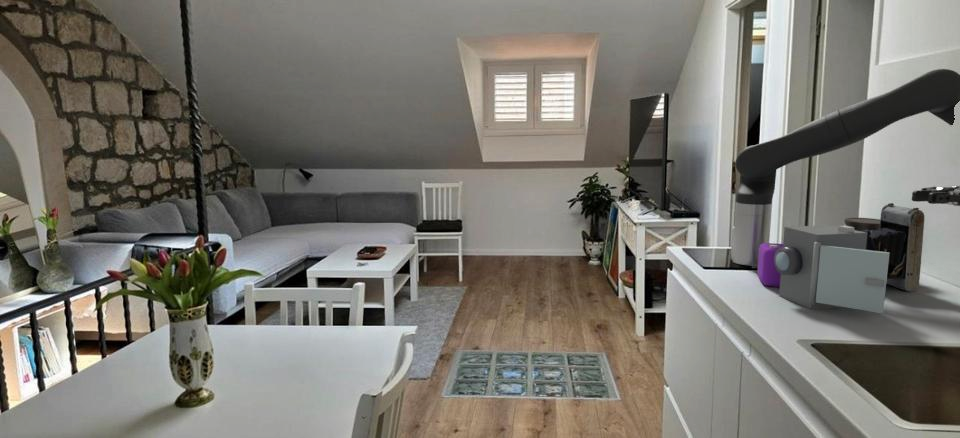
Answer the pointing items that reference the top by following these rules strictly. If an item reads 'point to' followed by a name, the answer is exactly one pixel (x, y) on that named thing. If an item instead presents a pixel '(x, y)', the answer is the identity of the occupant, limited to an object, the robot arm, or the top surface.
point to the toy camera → (768, 264)
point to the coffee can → (863, 223)
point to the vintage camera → (900, 244)
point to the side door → (849, 277)
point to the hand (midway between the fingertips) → (922, 197)
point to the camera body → (809, 257)
